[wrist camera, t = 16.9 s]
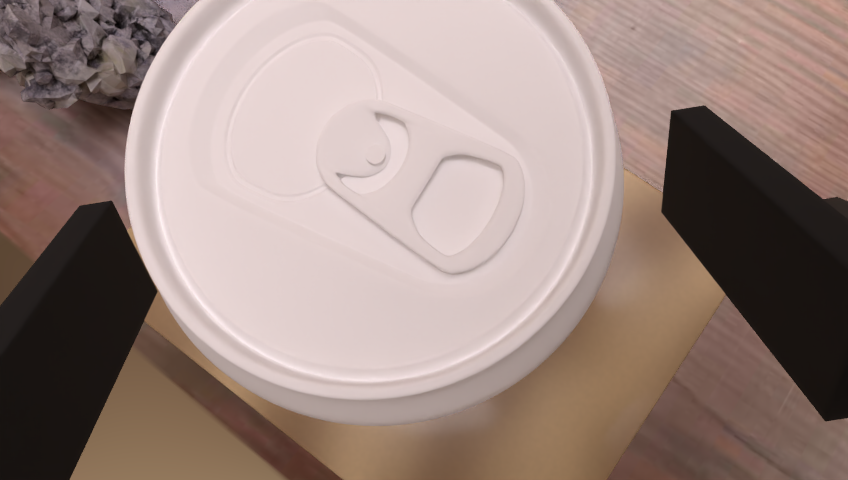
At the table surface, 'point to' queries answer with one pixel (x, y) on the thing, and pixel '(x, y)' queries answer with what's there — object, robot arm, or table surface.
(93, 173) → the table surface
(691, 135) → the robot arm
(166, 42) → the beverage can
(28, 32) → the mineral specimen
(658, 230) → the board stand
